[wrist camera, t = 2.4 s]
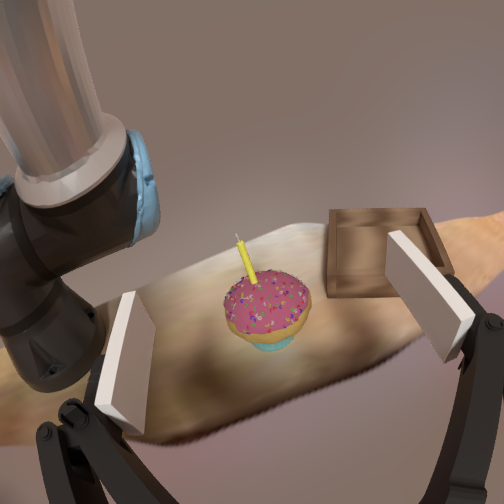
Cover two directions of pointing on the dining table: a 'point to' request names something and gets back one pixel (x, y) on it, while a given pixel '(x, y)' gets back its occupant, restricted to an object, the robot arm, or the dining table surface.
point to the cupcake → (266, 306)
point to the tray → (375, 249)
